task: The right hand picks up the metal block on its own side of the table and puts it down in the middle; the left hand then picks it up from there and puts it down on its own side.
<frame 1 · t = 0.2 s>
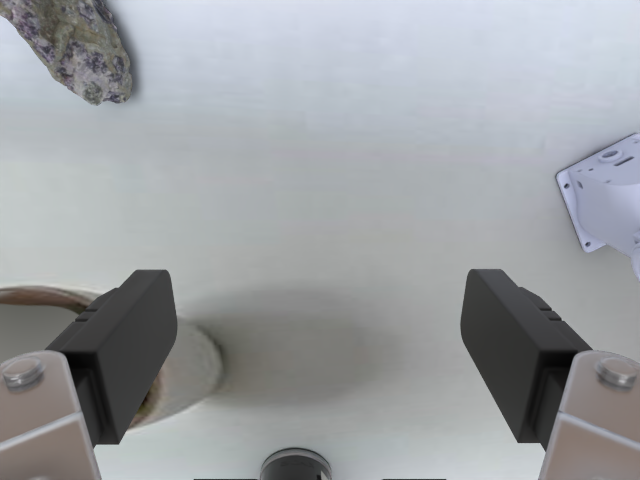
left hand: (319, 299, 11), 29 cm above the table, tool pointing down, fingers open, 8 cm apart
mineral rock: (69, 21, 34), on the table
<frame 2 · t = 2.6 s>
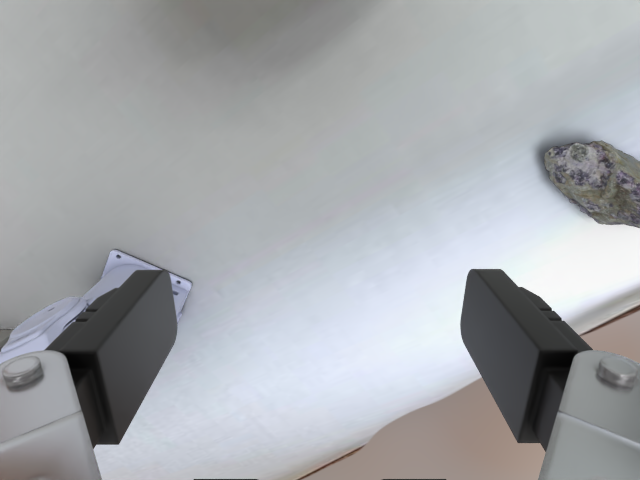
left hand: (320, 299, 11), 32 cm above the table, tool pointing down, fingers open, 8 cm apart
block: (4, 345, 50), on the table, touching right hand
mineral rock: (601, 172, 42), on the table
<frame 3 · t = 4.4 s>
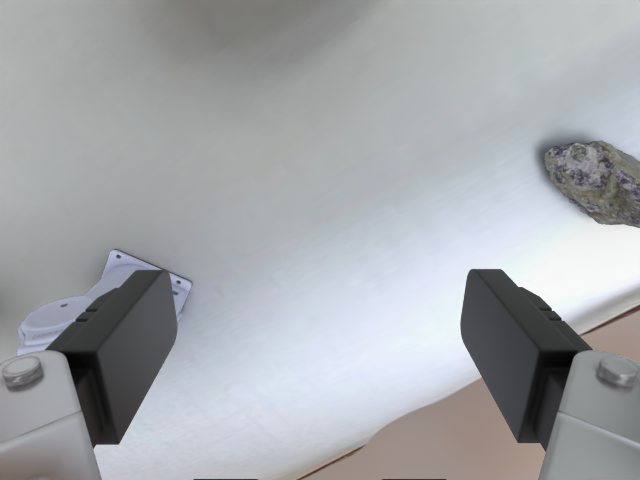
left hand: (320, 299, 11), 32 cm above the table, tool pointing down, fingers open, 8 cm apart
mineral rock: (601, 172, 42), on the table
when the right hand's fingers open (3 cm above the table, at t = 6.6 s): block drops 1 cm, on the table.
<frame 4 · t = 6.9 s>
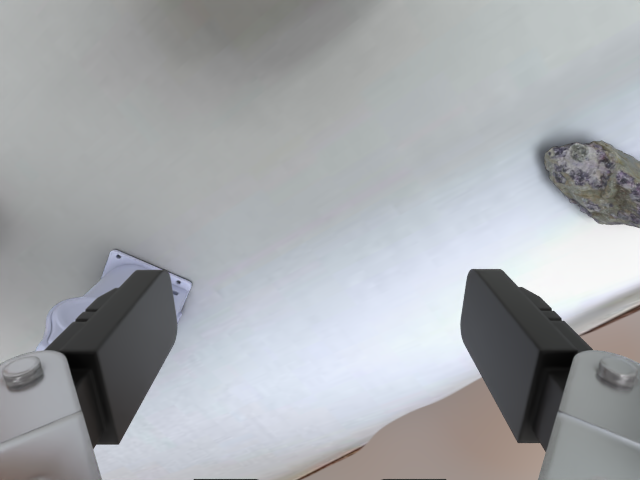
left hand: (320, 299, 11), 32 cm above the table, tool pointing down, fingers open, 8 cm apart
mineral rock: (601, 172, 42), on the table
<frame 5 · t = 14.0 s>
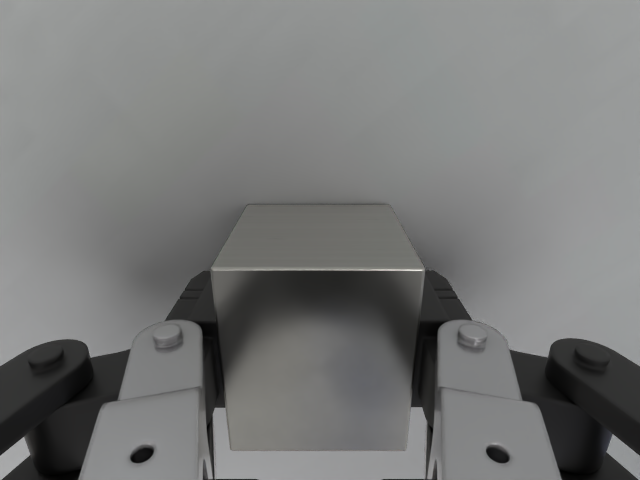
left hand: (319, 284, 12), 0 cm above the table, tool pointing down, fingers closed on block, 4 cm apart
block: (318, 277, 12), on the table, touching left hand
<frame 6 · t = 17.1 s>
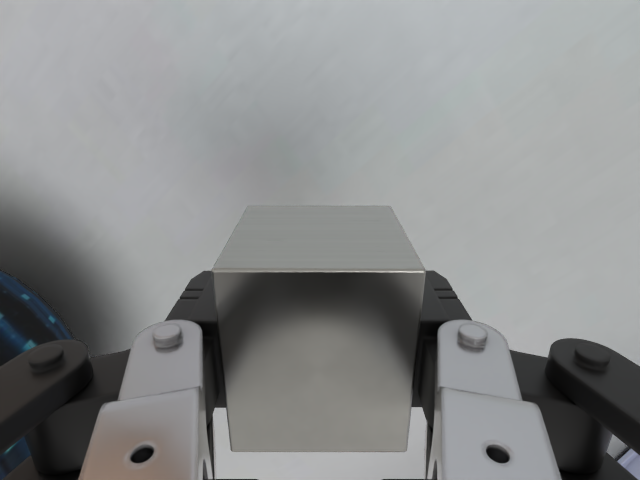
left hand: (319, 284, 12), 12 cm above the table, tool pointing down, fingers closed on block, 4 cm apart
block: (319, 279, 12), point 12 cm above the table, touching left hand
when the left hand's fingers open (2 cm above the table, at t = 20.3 s): block drops 1 cm, on the table.
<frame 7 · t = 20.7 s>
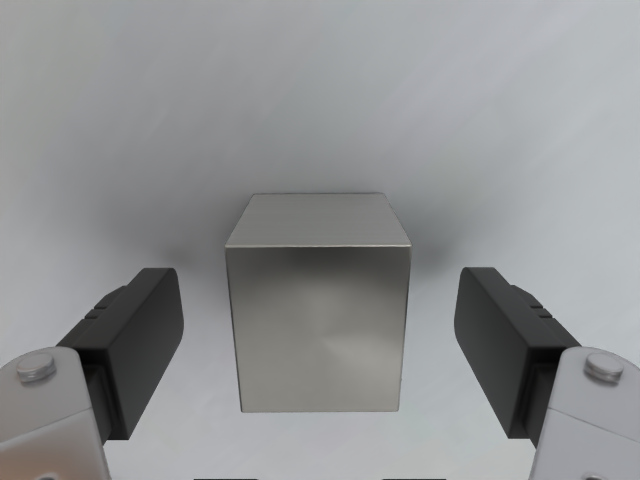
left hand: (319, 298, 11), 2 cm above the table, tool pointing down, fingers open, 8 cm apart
block: (319, 261, 13), on the table
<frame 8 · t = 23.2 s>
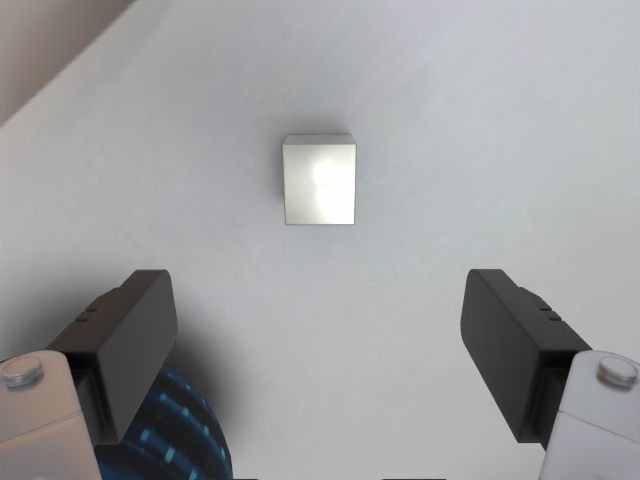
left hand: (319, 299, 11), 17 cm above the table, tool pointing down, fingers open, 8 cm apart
block: (319, 170, 27), on the table
decorative sphere: (134, 394, 34), on the table
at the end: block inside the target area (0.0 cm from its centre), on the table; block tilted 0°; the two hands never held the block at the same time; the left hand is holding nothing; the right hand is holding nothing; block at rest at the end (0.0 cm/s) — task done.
